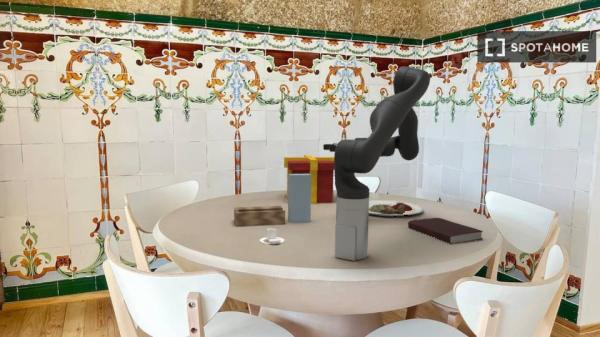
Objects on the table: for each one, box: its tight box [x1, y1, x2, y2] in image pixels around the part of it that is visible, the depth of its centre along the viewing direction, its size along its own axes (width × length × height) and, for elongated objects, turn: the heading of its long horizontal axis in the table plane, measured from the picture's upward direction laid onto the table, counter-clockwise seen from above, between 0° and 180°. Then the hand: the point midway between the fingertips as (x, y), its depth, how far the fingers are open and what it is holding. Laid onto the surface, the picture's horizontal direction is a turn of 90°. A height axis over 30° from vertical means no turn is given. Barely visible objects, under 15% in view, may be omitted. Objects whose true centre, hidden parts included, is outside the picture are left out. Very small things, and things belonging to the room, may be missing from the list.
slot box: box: [233, 205, 286, 227], centre depth 164 cm, size 18×9×5 cm, turn 102°
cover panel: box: [287, 174, 312, 224], centre depth 165 cm, size 8×3×18 cm, turn 102°
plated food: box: [369, 199, 425, 217], centre depth 187 cm, size 30×30×3 cm
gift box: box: [283, 154, 335, 205], centre depth 209 cm, size 25×25×20 cm
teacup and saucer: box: [259, 227, 285, 245], centre depth 140 cm, size 9×8×4 cm
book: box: [407, 217, 484, 245], centre depth 150 cm, size 14×22×4 cm, turn 23°
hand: (326, 147), depth 163 cm, fingers open, 8 cm apart
